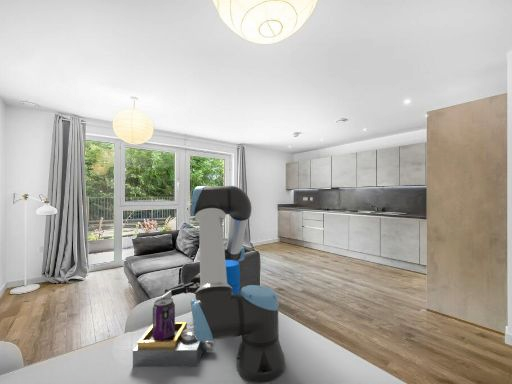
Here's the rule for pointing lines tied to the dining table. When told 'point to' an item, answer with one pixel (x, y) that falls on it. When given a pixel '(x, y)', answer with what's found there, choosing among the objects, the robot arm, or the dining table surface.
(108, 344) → the dining table surface
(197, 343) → the grey holder stand
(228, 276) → the thermos
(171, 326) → the beverage can
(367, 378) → the dining table surface
